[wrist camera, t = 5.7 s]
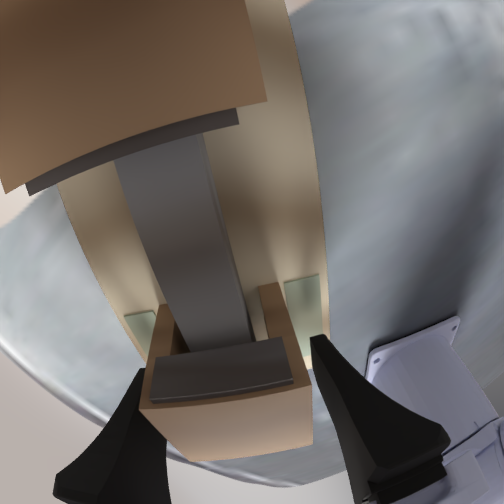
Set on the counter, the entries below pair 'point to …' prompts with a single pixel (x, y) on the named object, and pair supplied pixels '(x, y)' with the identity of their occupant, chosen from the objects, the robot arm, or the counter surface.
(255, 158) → the rail board
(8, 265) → the counter surface
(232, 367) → the forked wooden block
